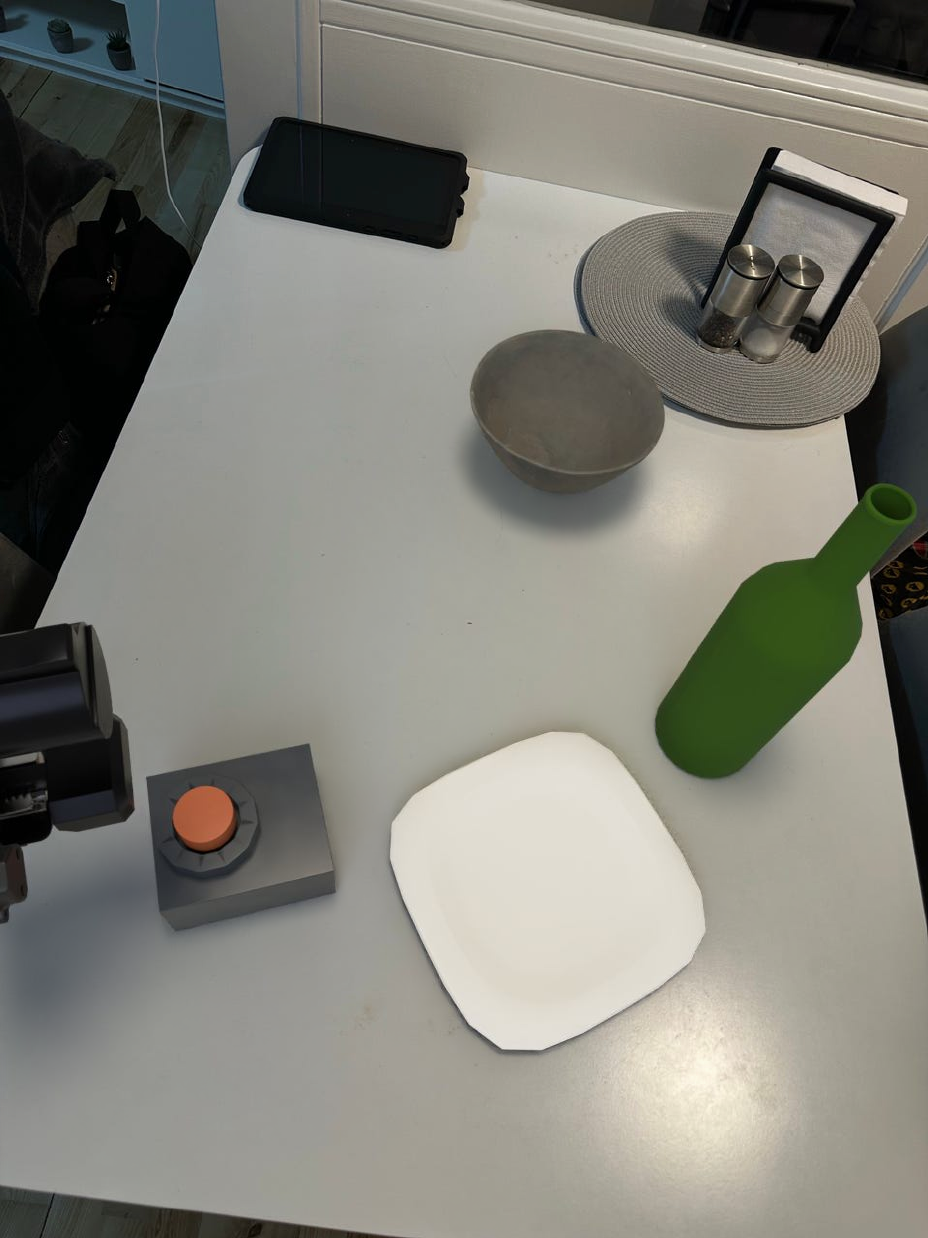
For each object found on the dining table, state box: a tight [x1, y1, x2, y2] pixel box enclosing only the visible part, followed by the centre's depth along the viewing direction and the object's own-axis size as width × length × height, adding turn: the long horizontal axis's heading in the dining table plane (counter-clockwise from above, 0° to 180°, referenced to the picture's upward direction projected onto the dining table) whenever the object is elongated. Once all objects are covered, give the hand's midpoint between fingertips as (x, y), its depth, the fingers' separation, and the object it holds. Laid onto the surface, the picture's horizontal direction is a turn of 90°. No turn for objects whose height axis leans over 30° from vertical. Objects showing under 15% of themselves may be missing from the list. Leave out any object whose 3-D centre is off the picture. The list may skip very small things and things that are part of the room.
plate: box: [389, 731, 707, 1051], centre depth 69 cm, size 22×22×2 cm
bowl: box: [469, 328, 666, 495], centre depth 88 cm, size 19×19×10 cm
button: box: [173, 786, 237, 851], centre depth 61 cm, size 4×4×2 cm
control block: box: [145, 743, 337, 933], centre depth 65 cm, size 12×10×8 cm
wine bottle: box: [655, 482, 918, 780], centre depth 64 cm, size 9×9×32 cm
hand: (1, 844), depth 55 cm, fingers closed
